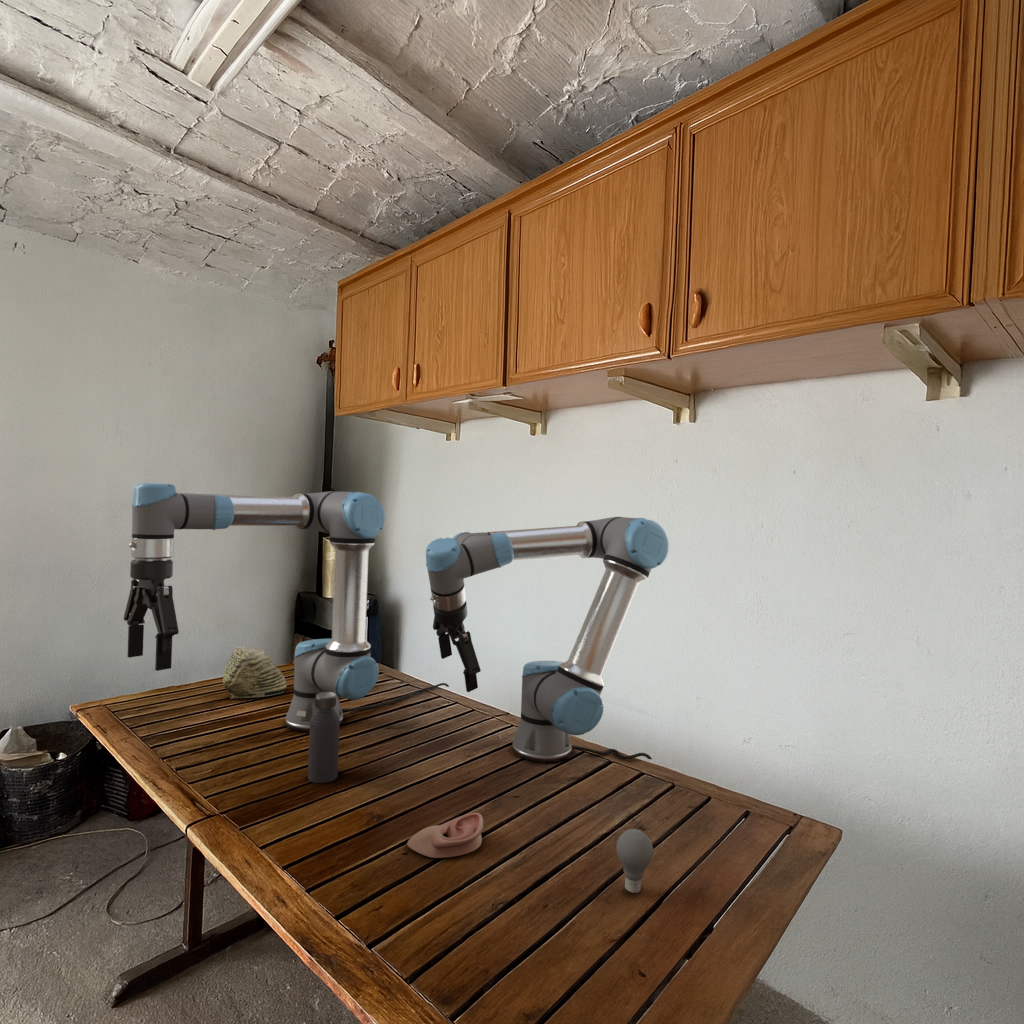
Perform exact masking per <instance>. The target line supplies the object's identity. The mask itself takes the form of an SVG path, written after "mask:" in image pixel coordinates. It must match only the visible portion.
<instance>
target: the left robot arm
mask: <svg viewBox="0 0 1024 1024" xmlns="http://www.w3.org/2000/svg"><path fill="white" fill-rule="evenodd" d="M385 515H386V513H385V511H384V508H383V505H382V503H381V502H380V501H379V500H378V498H377V497H375V495H373V494H370V493H367V492H363V491H362V492H361V491H337V490H336V491H335V490H333V491H332V490H330V491H321V492H311V493H295V494H294V495H293V496H276V495H275V496H274V495H273V496H272V495H248V494H247V495H246V494H244V495H243V494H220V493H219V494H218V493H217V494H216V493H215V494H214V493H189V492H187V493H186V492H177V491H176V486H175V485H174V484H173V483H152V482H139V483H137V484H136V485H135V486H134V488H133V492H132V501H131V520H132V521H131V542H130V543H128V547H129V548H130V549H131V550H130V556H131V558H133V559H132V560H131V561H130V567H129V568H130V571H129V574H130V575H129V576H130V578H131V581H130V590H129V594H128V598H127V603H126V607H125V610H124V615H123V621H124V622H126V624H127V626H128V629H127V630H128V631H127V658H135V657H142V656H144V635H145V634H144V630H145V625H144V624H145V623H146V621H145V619H144V618H145V616H146V615H147V612H148V609H149V610H151V613H152V618H153V620H154V624H155V627H156V631H157V633H156V635H155V636H154V638H155V661H154V663H155V665H154V668H155V669H154V670H155V671H157V672H159V671H164V670H169V669H172V659H173V657H172V655H173V637H175V636H176V635H179V632H180V631H179V625H178V619H177V615H176V614H177V613H176V609H175V603H174V597H173V595H174V593H173V585H165V580H167V579H171V578H172V577H173V575H174V573H173V572H174V561H173V560H172V559H171V558H173V557H174V554H175V553H174V552H175V530H213V531H215V530H224V529H228V528H230V526H233V527H234V526H237V527H238V526H240V527H243V526H246V527H247V526H249V527H250V526H258V527H259V526H268V527H269V526H276V527H277V526H282V527H284V526H285V527H286V526H287V527H288V526H289V527H290V526H291V527H293V528H294V529H296V530H308V531H309V530H310V531H316V532H319V533H325V534H329V544H330V545H331V546H332V547H333V548H334V550H335V551H334V572H333V573H334V577H333V599H332V625H331V626H332V627H331V638H317V639H308V640H304V641H300V642H299V643H297V645H296V646H295V650H294V655H293V657H294V672H293V673H294V674H293V695H292V696H293V697H292V699H291V702H290V704H289V708H288V711H287V713H286V715H285V726H286V728H287V729H289V730H291V731H294V732H295V731H296V732H301V733H310V720H311V717H312V716H313V715H314V714H315V712H316V711H317V709H318V708H317V707H316V706H315V698H316V694H318V693H321V692H333V693H335V694H336V705H335V707H333V709H334V711H336V713H337V715H338V716H339V718H340V725H342V723H343V722H344V713H343V712H356V711H361V710H362V711H363V710H368V709H373V708H377V707H381V706H385V705H388V704H392V703H394V702H397V701H401V700H403V699H405V698H408V697H410V696H413V695H416V694H418V693H421V692H424V691H428V690H432V689H436V688H438V687H441V686H445V687H446V688H449V687H450V685H449V684H448V683H446V682H441V683H438V684H435V685H432V686H428V687H427V686H426V687H424V688H420V689H418V690H415V691H413V692H409V693H406V694H405V695H402V696H399V697H397V698H393V699H391V700H387V701H384V702H380V703H376V704H371V705H367V706H366V705H365V706H361V707H360V706H359V707H351V708H350V707H349V708H342V706H341V702H340V699H339V698H341V699H342V700H343V699H344V700H348V701H349V700H350V701H357V700H360V699H362V698H364V697H365V696H367V695H368V694H370V692H371V690H372V689H374V687H375V685H376V683H377V682H378V678H379V674H380V672H379V671H380V670H379V669H380V668H379V665H378V663H377V662H376V660H375V659H374V657H371V652H372V649H371V648H372V644H371V643H370V642H368V640H367V639H366V631H367V607H368V606H367V605H368V604H367V602H368V582H369V581H368V579H369V555H370V553H369V552H370V550H371V548H372V547H374V545H375V544H376V536H378V535H379V534H380V533H381V530H383V528H384V526H385V522H386V521H385V520H386V516H385Z"/></svg>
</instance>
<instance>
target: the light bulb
mask: <svg viewBox="0 0 1024 1024" xmlns="http://www.w3.org/2000/svg"><path fill="white" fill-rule="evenodd" d="M615 849H616V854H617V857H618V859H619V861H620V863H621V865H622V867H623V873H624V874H623V875H624V876H625V878H624V888H625V890H627V891H628V892H630V893H634V894H635V893H639V892H640V891H641V889H642V887H641V886H642V879H643V877H644V875H645V871H646V868H647V867H648V866H649V864H650V863H651V861H652V859H653V855H654V847H653V843H652V841H651V838H649V836H648V835H647V834H646V833H645V832H643V831H642V830H641V829H636V828H629V829H627V830H625V831H623V832H622V833H621V834H620V835H619V837H618V839H617V841H616V847H615Z"/></svg>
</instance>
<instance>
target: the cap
mask: <svg viewBox="0 0 1024 1024" xmlns="http://www.w3.org/2000/svg"><path fill="white" fill-rule="evenodd" d="M335 705H336V694H335V693H333V692H321V693H318V694H316V698H315V706H316V707H317V708H321V709H328V708H332V707H335Z"/></svg>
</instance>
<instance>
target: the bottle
mask: <svg viewBox="0 0 1024 1024" xmlns="http://www.w3.org/2000/svg"><path fill="white" fill-rule="evenodd" d="M340 725H341V724H340V718H339V716H338V715H337V713H336V711H334V709H333V707H332V708H328V709H321V708H318V709H317V711H316V712H315V714H314V715H313V716H312V717H311V720H310V732H309V733H308V734H309V736H308V737H309V739H308V759H307V760H308V763H307V764H308V765H307V780H308V781H309V782H311V783H315V784H327V783H330V782H333V781H335V780H336V779H337V778H338V776H339V775H338V774H339V754H340V753H339V752H340V751H339V750H340Z"/></svg>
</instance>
